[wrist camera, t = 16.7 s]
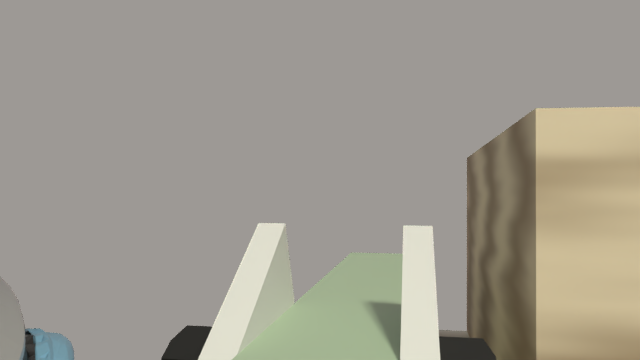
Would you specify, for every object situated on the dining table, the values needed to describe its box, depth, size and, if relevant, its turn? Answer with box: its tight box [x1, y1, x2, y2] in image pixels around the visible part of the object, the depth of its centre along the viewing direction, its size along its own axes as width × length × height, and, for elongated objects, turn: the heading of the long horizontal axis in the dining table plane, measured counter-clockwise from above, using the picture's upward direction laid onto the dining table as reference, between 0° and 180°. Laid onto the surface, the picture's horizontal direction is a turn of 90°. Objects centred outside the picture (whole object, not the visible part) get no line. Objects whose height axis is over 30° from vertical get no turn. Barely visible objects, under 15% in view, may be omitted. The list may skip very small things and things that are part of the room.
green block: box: [232, 253, 403, 360], centre depth 19 cm, size 26×3×3 cm, turn 171°
